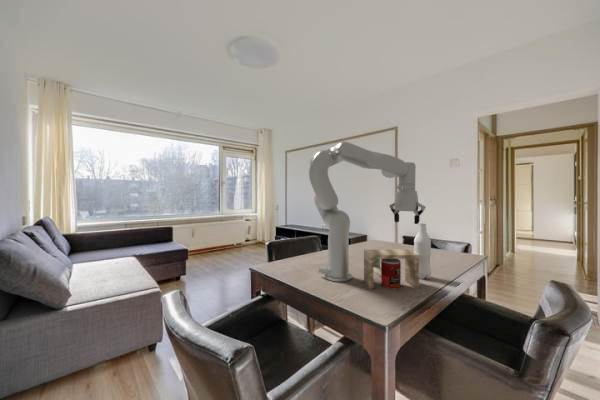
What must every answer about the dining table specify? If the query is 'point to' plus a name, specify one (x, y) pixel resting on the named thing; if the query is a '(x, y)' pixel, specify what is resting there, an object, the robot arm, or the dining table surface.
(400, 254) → the oak shelf
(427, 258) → the water bottle
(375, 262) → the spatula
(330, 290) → the dining table surface
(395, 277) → the canned food
